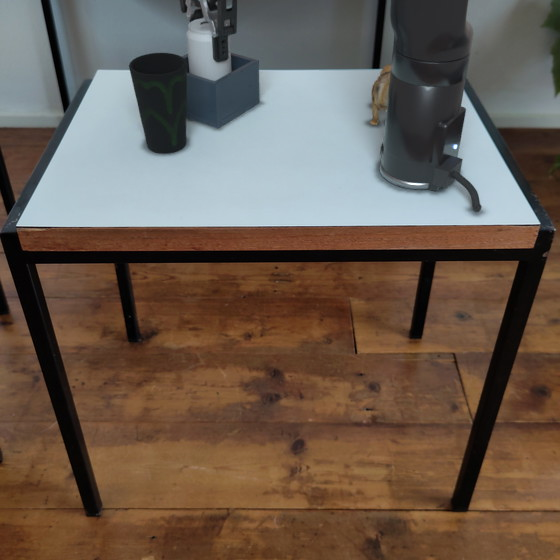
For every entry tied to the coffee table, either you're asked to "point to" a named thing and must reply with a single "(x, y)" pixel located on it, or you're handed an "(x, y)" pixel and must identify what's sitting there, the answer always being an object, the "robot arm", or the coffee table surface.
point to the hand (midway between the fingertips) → (209, 52)
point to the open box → (223, 93)
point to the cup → (161, 99)
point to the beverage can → (205, 52)
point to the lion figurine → (380, 93)
